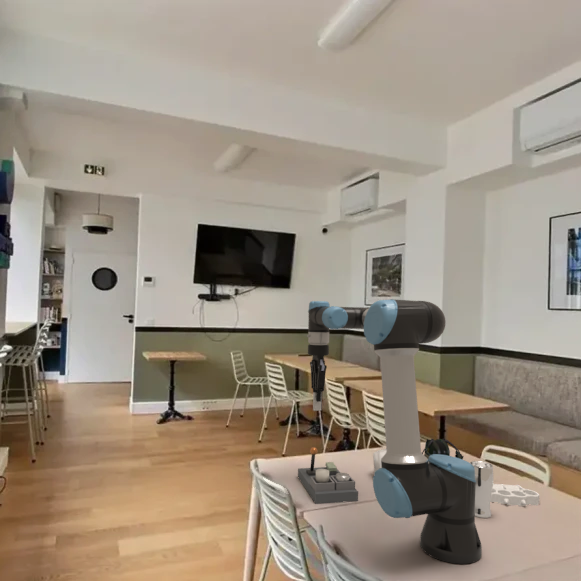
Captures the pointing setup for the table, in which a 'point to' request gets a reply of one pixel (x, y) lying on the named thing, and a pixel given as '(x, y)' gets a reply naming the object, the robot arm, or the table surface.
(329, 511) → the table surface
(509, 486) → the knuckle duster
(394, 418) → the robot arm
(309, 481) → the switch panel
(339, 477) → the metal button
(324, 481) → the white button
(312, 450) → the toggle lever
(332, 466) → the rocker switch
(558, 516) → the table surface
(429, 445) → the headphones
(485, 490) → the beer glass
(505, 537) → the table surface
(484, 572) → the table surface
